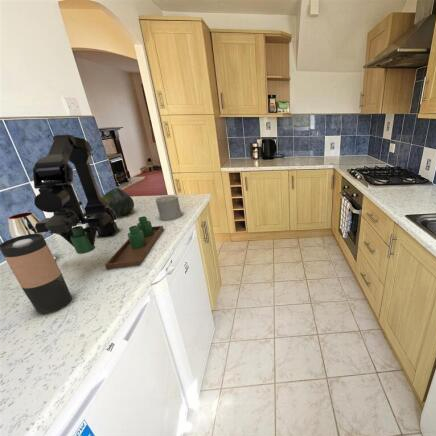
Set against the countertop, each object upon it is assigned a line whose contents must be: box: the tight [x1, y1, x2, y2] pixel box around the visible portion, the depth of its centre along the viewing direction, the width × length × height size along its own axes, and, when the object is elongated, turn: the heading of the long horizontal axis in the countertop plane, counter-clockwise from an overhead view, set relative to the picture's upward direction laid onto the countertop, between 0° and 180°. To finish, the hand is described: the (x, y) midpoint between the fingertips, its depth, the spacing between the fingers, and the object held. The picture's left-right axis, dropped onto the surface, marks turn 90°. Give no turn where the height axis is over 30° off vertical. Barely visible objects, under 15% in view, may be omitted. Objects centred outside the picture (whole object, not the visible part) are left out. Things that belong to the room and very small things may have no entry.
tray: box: [104, 225, 165, 270], centre depth 95 cm, size 10×29×2 cm, turn 11°
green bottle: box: [70, 225, 96, 255], centre depth 81 cm, size 5×5×8 cm
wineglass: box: [7, 211, 57, 261], centre depth 83 cm, size 8×8×18 cm
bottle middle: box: [127, 225, 146, 249], centre depth 94 cm, size 5×5×8 cm
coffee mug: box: [155, 194, 182, 221], centre depth 123 cm, size 13×10×10 cm
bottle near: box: [136, 215, 154, 238], centre depth 102 cm, size 5×5×8 cm
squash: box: [101, 187, 135, 217], centre depth 125 cm, size 14×15×15 cm
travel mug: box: [0, 234, 73, 315], centre depth 63 cm, size 8×8×20 cm
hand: (84, 245), depth 82 cm, fingers closed on green bottle, 5 cm apart
